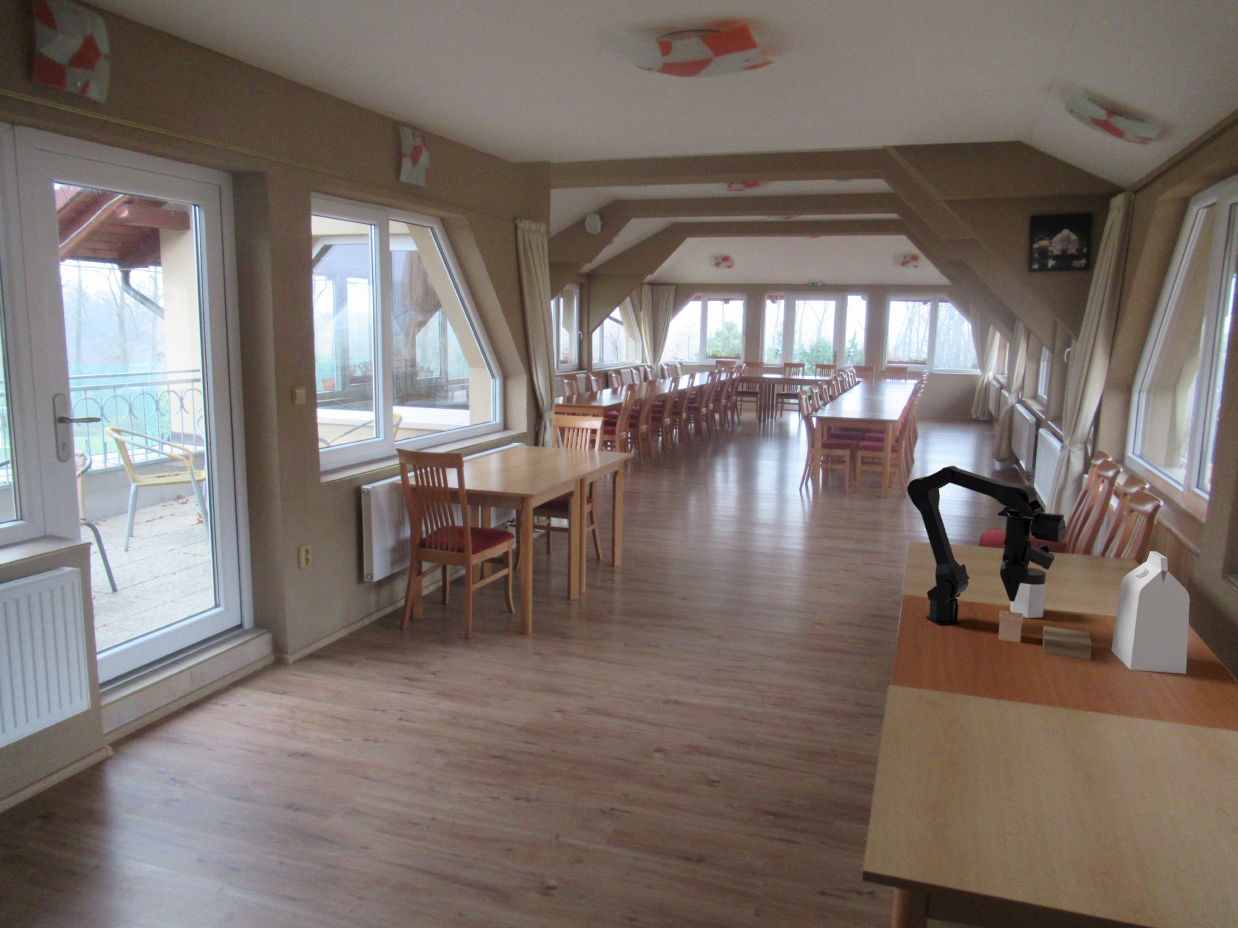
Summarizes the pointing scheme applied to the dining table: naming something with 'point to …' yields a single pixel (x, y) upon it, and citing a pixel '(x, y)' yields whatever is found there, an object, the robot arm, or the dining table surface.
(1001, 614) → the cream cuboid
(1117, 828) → the dining table surface
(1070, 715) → the dining table surface
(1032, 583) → the jar
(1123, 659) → the milk
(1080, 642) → the beige block
